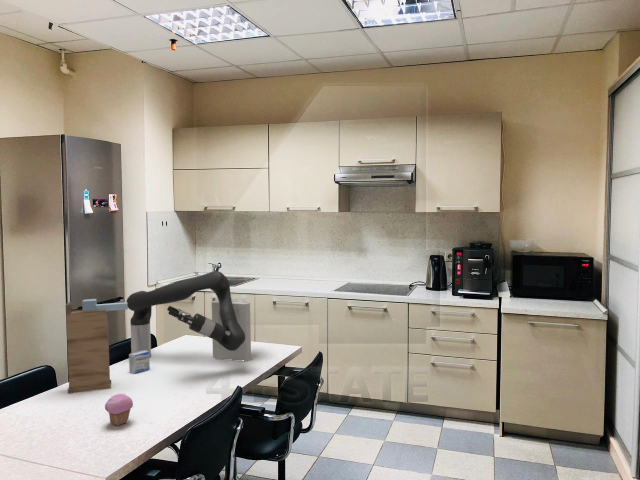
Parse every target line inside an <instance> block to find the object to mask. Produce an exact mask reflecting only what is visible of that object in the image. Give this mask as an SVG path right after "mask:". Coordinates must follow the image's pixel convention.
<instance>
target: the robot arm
mask: <svg viewBox="0 0 640 480" xmlns="http://www.w3.org/2000/svg"><path fill="white" fill-rule="evenodd" d="M203 290H211V291H212V292H214V293H215V296H216V297H217V301H219V304H220V318H221V322H222V325H223V326H222V325H220V324H218V323H216V322H214V321H212V318H208V317H206V316H204V315H203V314H200V313H199V312H197V313H195V314H194V316H192V315H191V314H190V313H189V312H186V311H185V310H182V309H181V308H175V307H173V306H171V305H168V307H167V309H166V310H167V312H168V315H169V316H172V317H174V318H176V320H178V321H180V322H183V324H187V325H188V328H189V330H190V331H192V332H195V333H198V334H199V335H202V336H205V337H206V338H207V337H208V338H210V339H211V340H213V339H214V340H216V341H217V342H218V343H220V344H221V345H222V346H223V347H224V348H226V349H227V350H231V351H235V350H237V349H238V348H239V347H240V346H241V345H242V344H243V343H244V341H245V333H244V331H243V330H242V328H241V326H240V325H239V324H238V321H237V318H236V315H235V311H234V308H233V304H232V300H231V299H232V294H231V285H230V280H229V279H228V277H226V275H225V274H224V273H222V272H221V271H217V270H213V271H210V272H207V273H205V274H202V275H200V276H196V277H193V278H189V279H185V280H180V281H176V282H172V283H168V284H166V285H164V286H160V287H158V288H155V289H152V290H149V291H146V290H139V291H136V292H134V293H133V292H132V294H129V296H128V297H127V299H126V302H127V305H128V309H129V311H132V312H133V314H132V316H131V317H130V322H129V323H130V342H131V343H130V347H131V352H130V354H132V353H135V352H139V351H143V350H146V351H149V359H151V357H152V344H151V343H152V341H151V340H152V339H151V337H152V336H151V318H152V313H153V312H152V309H153V308H152V307H153V306H158V305H165V304H166V305H167V304H171V303H177V302H180V301H184V300H185V301H186V300H187V299H189V298H190V297H191V296H193V295H194V294H195V293H197V292H199V291H203ZM226 331H230V335H229V336H228V335H227V334H226V333H225V332H226Z"/></svg>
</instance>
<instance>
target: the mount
mask: <svg viewBox="0 0 640 480" xmlns="http://www.w3.org/2000/svg"><path fill="white" fill-rule="evenodd" d="M72 306H73V303H72V301H70V302H68V301H67V303H65V320H66V324H65V325H66V327H65V328H66V345H67V369H68V370H67V371H68V372H67V374H68V387H67V394H68V395H69V394H77V393H83V392H84V393H85V392H92V391H99V390H107V389H112V379H111V374H110V373H111V372H110V349H109V346H110V344H109V342H110V341H109V316H108V312H109V311H106V310H104V311H90V312H83V309H73V307H72Z"/></svg>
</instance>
